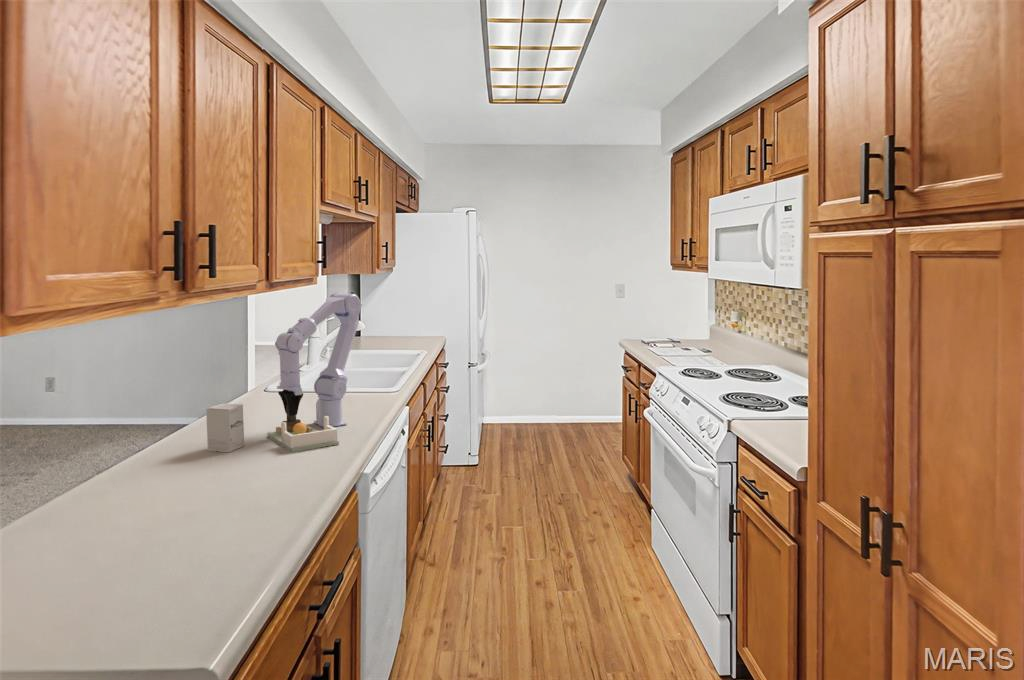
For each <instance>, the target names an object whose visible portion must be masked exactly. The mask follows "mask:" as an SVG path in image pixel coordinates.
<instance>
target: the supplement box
mask: <svg viewBox="0 0 1024 680" xmlns="http://www.w3.org/2000/svg"><path fill="white" fill-rule="evenodd" d="M205 414H206V433H207V434H206V435H207V437H206V438H207V451H209V452H216V451H219V453H231V452H233V451H235V450H237V449H239V448H242V446H243V447H244V446H245V432H244V429H245V428H244V425H245V424H244V423H245V422H244V404H240V403H219V404H217V405H216V404H215V405H212V406H210V407H207V408H206V410H205Z"/></svg>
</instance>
